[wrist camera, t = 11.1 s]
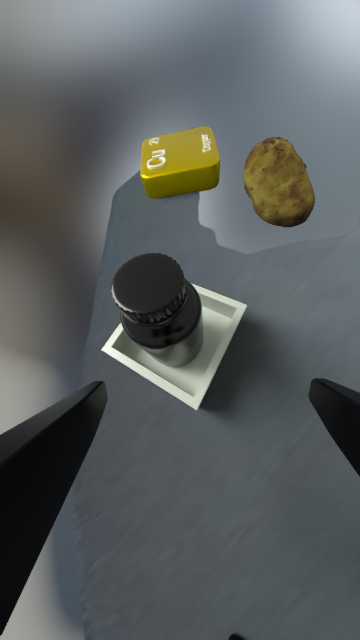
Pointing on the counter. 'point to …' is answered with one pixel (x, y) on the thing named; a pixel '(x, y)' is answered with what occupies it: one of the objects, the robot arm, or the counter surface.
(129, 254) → the counter surface
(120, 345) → the sage tray
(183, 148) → the element tile
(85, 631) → the counter surface
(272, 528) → the counter surface
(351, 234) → the counter surface
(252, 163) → the potato
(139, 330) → the supplement bottle
